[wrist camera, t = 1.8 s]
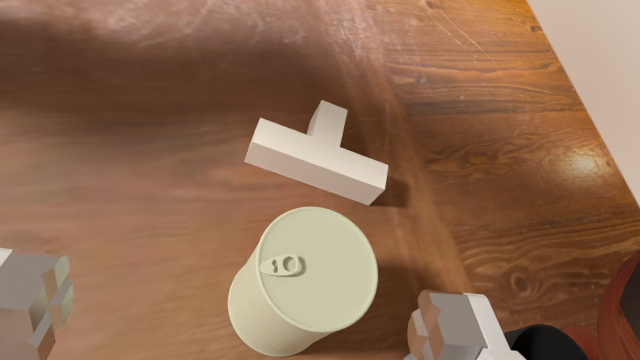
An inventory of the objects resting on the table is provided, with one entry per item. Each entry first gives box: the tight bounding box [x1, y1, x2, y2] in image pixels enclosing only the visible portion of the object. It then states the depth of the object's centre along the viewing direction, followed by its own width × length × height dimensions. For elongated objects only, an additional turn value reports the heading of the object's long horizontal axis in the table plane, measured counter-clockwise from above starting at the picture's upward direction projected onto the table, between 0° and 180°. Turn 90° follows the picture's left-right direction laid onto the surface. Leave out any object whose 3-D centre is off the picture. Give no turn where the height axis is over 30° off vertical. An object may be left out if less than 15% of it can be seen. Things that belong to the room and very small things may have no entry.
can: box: [228, 207, 378, 357], centre depth 38 cm, size 9×9×12 cm
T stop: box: [244, 100, 388, 206], centre depth 50 cm, size 8×14×4 cm, turn 78°
